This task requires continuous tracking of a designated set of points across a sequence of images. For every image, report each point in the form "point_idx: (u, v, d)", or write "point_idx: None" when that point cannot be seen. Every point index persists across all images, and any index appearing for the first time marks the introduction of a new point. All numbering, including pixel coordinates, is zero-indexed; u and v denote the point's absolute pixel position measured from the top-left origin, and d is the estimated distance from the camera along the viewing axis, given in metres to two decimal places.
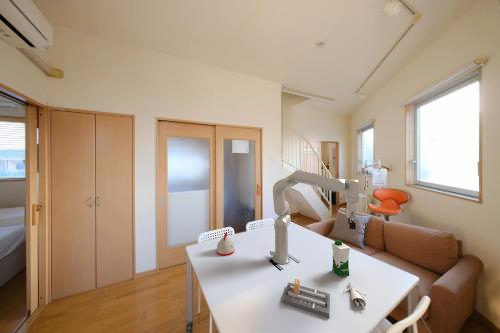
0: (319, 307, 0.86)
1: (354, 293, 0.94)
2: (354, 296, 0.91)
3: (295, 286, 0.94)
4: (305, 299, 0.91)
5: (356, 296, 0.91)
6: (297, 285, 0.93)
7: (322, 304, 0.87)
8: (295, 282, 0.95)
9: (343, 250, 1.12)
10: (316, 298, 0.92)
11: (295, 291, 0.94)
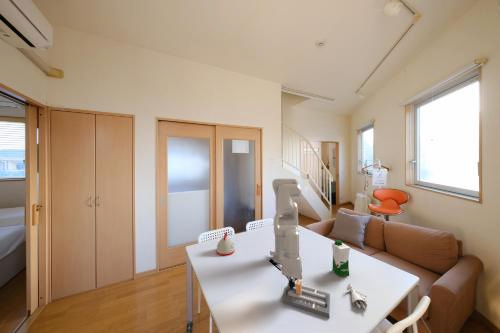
0: (319, 307, 0.86)
1: (355, 294, 0.93)
2: (355, 298, 0.90)
3: (297, 287, 0.93)
4: (305, 299, 0.91)
5: (357, 298, 0.90)
6: (299, 286, 0.93)
7: (322, 304, 0.87)
8: (297, 283, 0.94)
9: (343, 250, 1.12)
10: (316, 298, 0.92)
11: (297, 292, 0.93)
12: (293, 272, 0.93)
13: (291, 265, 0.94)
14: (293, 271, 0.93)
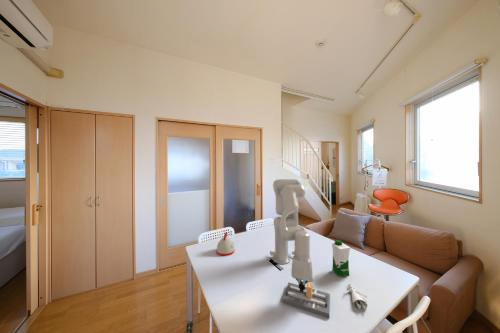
0: (319, 307, 0.86)
1: (355, 295, 0.93)
2: (355, 298, 0.90)
3: (308, 290, 0.91)
4: (305, 299, 0.91)
5: (357, 298, 0.90)
6: (310, 289, 0.91)
7: (322, 304, 0.87)
8: (308, 285, 0.92)
9: (343, 250, 1.12)
10: (316, 298, 0.92)
11: (308, 295, 0.91)
12: (303, 275, 0.91)
13: (301, 267, 0.91)
14: (303, 274, 0.91)
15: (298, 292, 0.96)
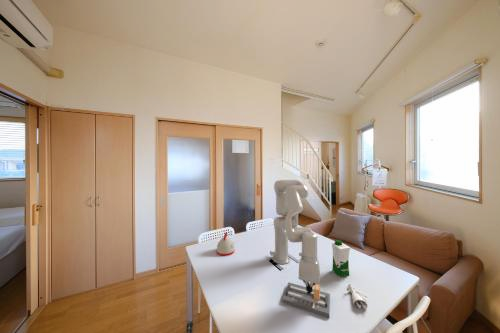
0: (319, 307, 0.86)
1: (355, 295, 0.93)
2: (355, 298, 0.90)
3: (316, 292, 0.90)
4: (305, 299, 0.91)
5: (357, 298, 0.90)
6: (318, 291, 0.89)
7: (322, 304, 0.87)
8: (315, 288, 0.91)
9: (343, 250, 1.12)
10: None
11: (315, 297, 0.90)
12: (311, 277, 0.89)
13: (309, 269, 0.90)
14: (311, 276, 0.89)
15: (298, 292, 0.96)
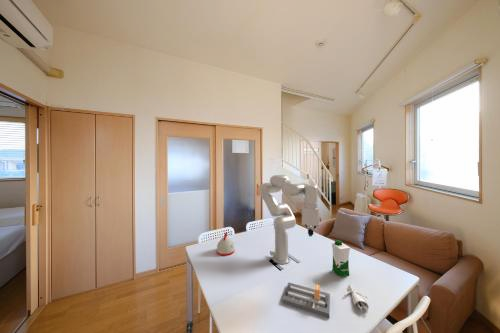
0: (319, 307, 0.86)
1: (356, 296, 0.92)
2: (356, 299, 0.89)
3: (316, 292, 0.90)
4: (305, 299, 0.91)
5: (358, 299, 0.89)
6: (318, 291, 0.89)
7: (322, 304, 0.87)
8: (316, 288, 0.91)
9: (343, 250, 1.12)
10: None
11: (316, 297, 0.90)
12: (312, 220, 1.06)
13: (310, 214, 1.06)
14: (312, 219, 1.06)
15: (298, 292, 0.96)
